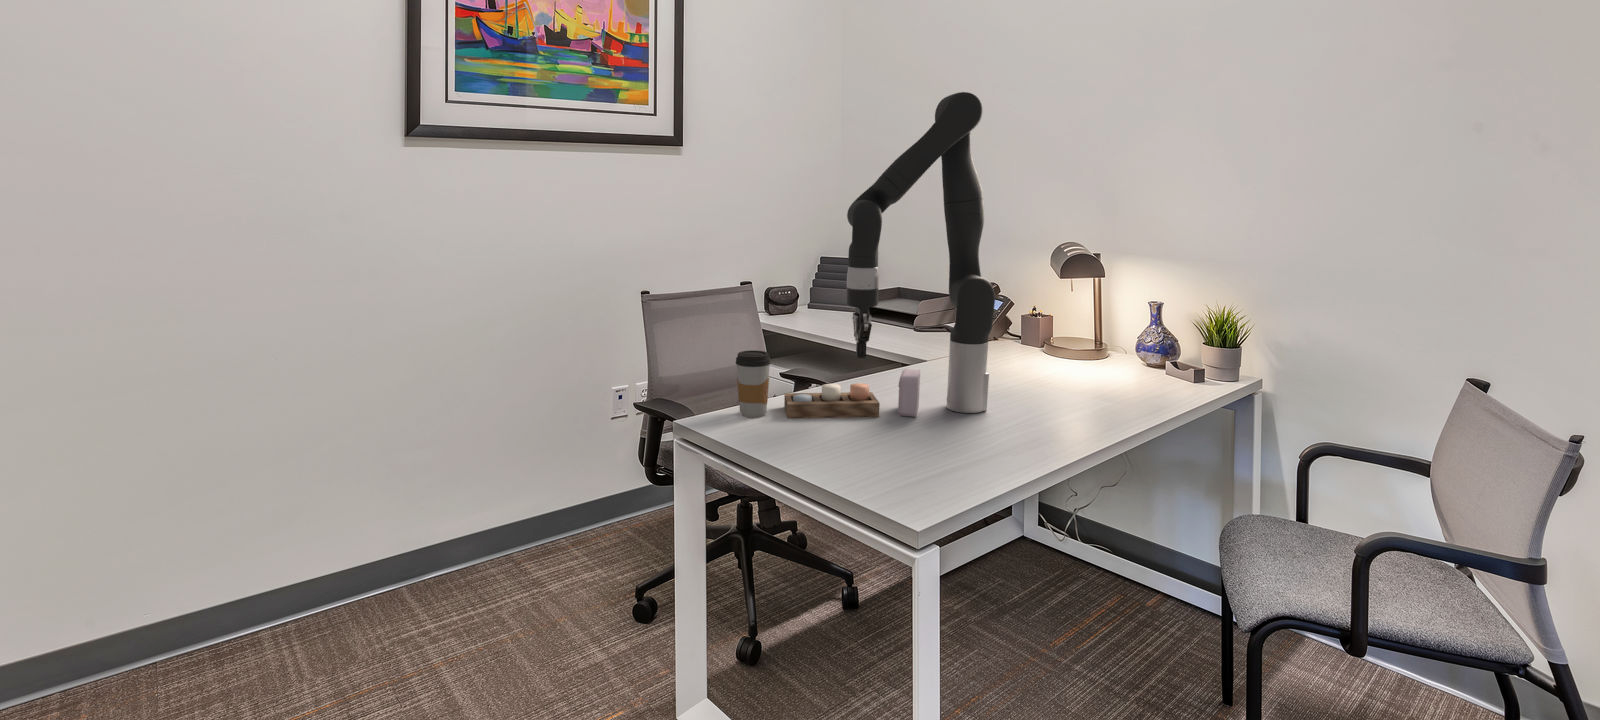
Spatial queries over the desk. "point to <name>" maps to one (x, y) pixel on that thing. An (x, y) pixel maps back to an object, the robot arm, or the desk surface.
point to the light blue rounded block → (802, 398)
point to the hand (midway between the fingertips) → (861, 357)
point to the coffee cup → (753, 382)
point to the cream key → (831, 392)
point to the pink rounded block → (859, 392)
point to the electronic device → (909, 392)
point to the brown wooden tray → (830, 407)
